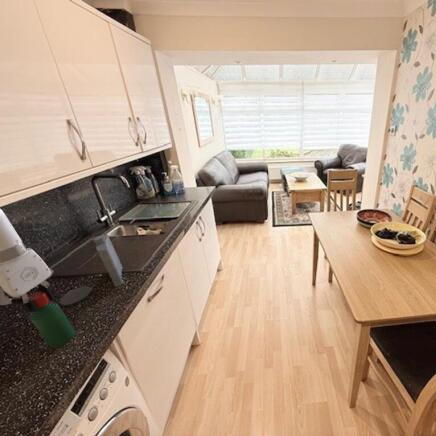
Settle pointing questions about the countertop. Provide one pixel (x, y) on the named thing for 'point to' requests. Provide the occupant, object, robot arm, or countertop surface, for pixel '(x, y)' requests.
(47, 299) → the cap
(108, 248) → the grey flat block
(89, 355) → the countertop surface
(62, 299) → the coaster
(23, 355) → the countertop surface
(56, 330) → the bottle
